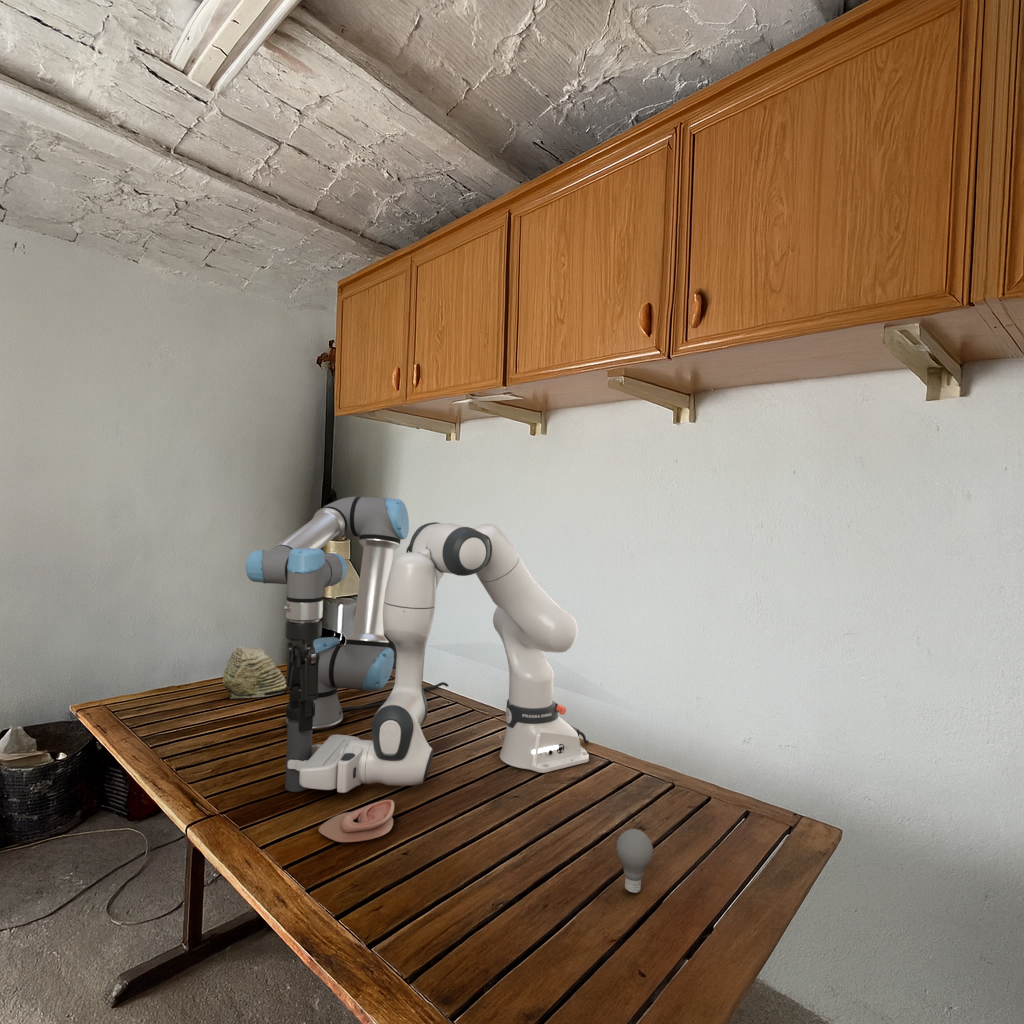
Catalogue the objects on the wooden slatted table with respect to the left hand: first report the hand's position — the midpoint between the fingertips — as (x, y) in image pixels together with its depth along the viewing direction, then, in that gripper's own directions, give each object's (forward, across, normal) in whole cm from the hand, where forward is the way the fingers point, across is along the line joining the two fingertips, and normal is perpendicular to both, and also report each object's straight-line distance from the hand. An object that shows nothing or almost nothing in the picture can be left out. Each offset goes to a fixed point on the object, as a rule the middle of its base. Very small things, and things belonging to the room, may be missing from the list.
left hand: (300, 725), depth 138 cm
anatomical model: (+13, +23, +4) cm, 27 cm away
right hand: (+7, 0, -1) cm, 7 cm away
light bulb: (+13, +66, +34) cm, 76 cm away
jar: (+13, 0, 0) cm, 13 cm away
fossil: (+13, -68, +9) cm, 70 cm away
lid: (-4, 0, 0) cm, 4 cm away
